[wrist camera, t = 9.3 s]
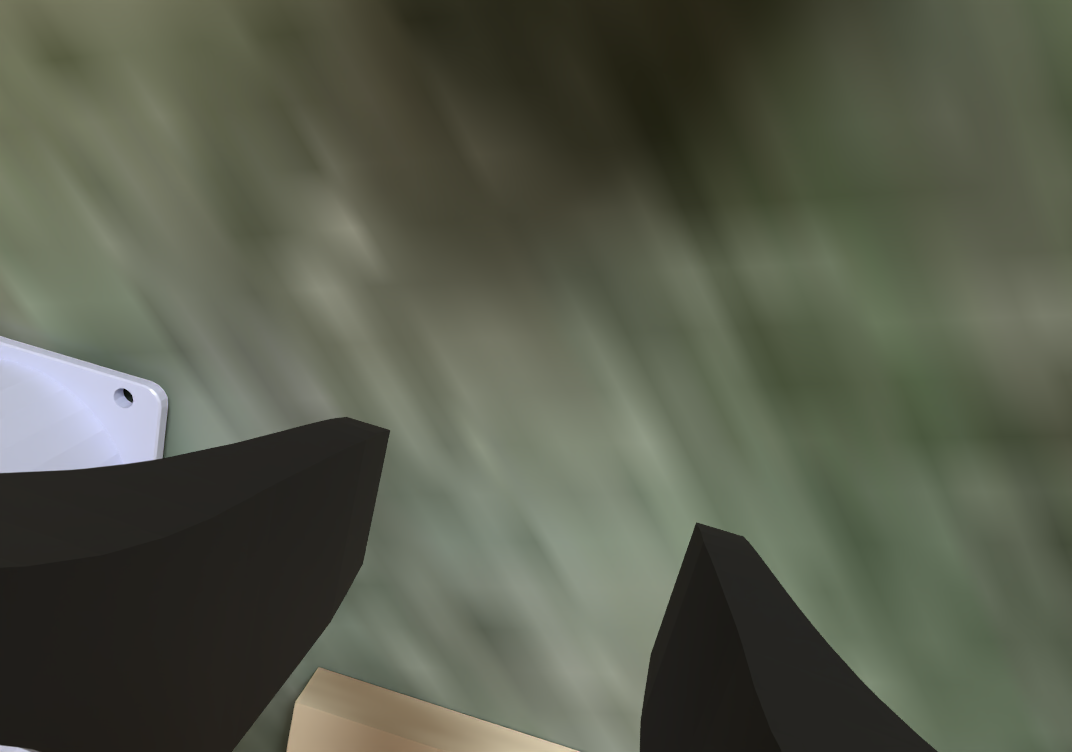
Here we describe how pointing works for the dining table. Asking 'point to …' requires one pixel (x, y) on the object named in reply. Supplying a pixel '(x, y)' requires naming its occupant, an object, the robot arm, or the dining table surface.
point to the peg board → (392, 723)
